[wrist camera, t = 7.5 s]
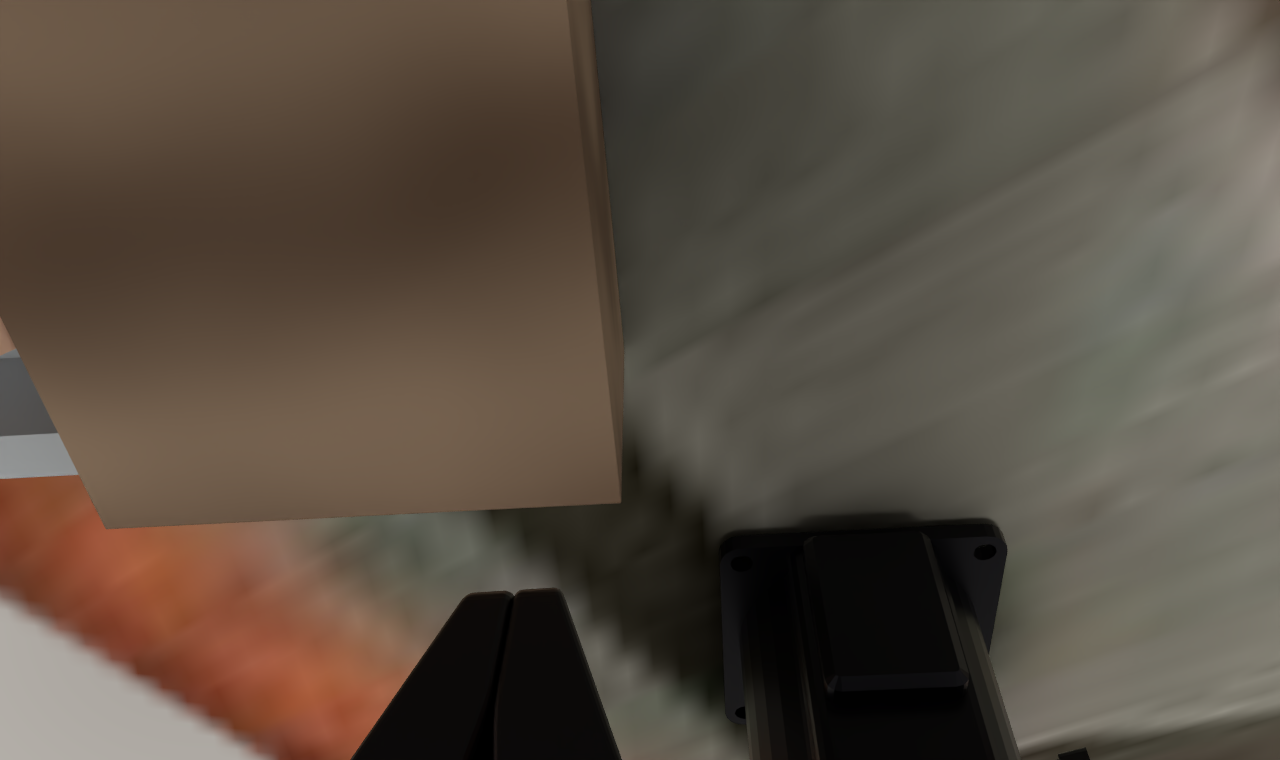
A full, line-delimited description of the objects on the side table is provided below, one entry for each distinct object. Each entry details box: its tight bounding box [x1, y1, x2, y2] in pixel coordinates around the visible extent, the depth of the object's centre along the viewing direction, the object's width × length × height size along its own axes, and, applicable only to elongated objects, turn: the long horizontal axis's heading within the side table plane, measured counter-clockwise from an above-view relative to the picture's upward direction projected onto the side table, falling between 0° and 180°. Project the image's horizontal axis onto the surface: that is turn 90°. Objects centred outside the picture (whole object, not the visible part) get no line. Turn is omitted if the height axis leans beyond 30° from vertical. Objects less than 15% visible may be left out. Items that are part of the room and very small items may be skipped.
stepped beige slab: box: [0, 0, 624, 529], centre depth 18 cm, size 11×9×4 cm
